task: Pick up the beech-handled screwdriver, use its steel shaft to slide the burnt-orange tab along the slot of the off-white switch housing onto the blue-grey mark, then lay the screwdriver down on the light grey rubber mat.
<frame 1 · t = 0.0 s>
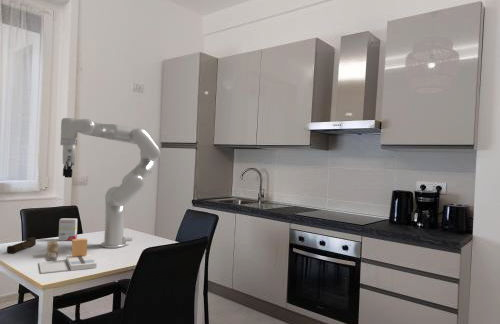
hand: (67, 176, 190), 37 cm above the table, tool pointing down, fingers open, 9 cm apart
tool mat: (53, 267, 161), on the table
slide tab: (79, 247, 173), point 6 cm above the table, slide at 0.0 cm
ink box: (67, 240, 211), on the table
switch housing: (80, 263, 168), on the table
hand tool: (22, 249, 188), on the table
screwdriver: (52, 255, 179), on the table
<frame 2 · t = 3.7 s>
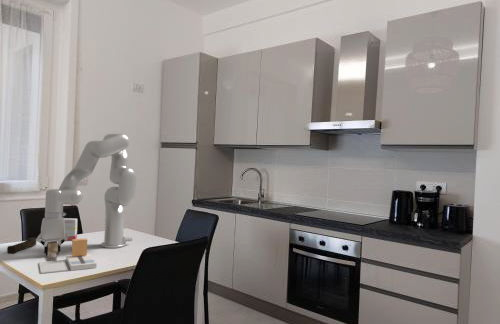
hand: (52, 253, 179), 1 cm above the table, tool pointing down, fingers closed on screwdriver, 4 cm apart
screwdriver: (52, 255, 179), on the table, touching gripper
everything else where it was.
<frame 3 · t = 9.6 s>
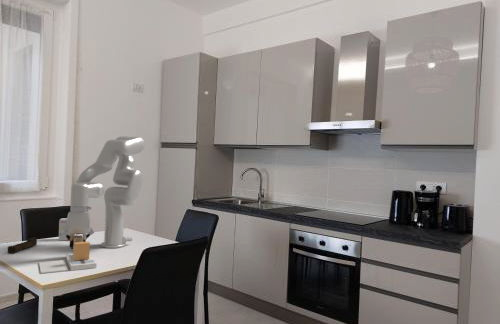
hand: (77, 247, 178), 4 cm above the table, tool pointing down, fingers closed on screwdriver, 4 cm apart
slide tab: (81, 250, 167), point 6 cm above the table, slide at 6.8 cm, touching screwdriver
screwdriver: (77, 249, 178), point 4 cm above the table, touching gripper, slide tab
everything else where it was.
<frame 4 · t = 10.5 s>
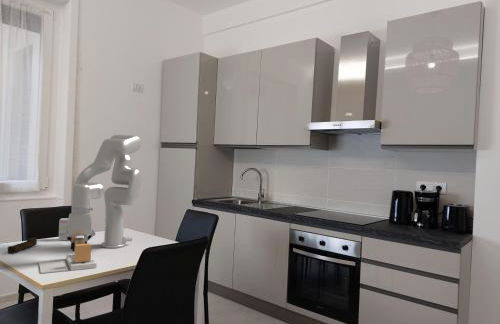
hand: (78, 249, 174), 4 cm above the table, tool pointing down, fingers closed on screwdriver, 4 cm apart
slide tab: (82, 252, 164), point 6 cm above the table, slide at 10.5 cm, touching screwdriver
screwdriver: (78, 252, 175), point 3 cm above the table, touching gripper, slide tab
everything else where it was.
when the fingers open (3 cm above the table, at t = 17.6 s): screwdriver stays where it is, resting on tool mat.
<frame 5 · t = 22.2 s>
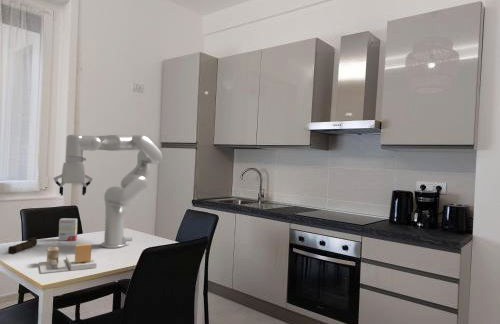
hand: (72, 195, 184), 28 cm above the table, tool pointing down, fingers open, 9 cm apart
slide tab: (83, 252, 164), point 6 cm above the table, slide at 10.8 cm
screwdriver: (52, 262, 166), resting on tool mat
everything else where it was.
at the end: slide tab slide at 10.8 cm; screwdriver inside the target area (1.5 cm from its centre), point 0.5 cm above the table; the gripper is holding nothing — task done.
